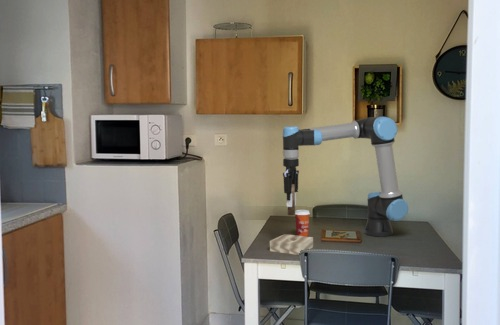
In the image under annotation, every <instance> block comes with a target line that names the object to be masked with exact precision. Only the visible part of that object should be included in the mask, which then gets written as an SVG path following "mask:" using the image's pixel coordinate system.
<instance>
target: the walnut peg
mask: <svg viewBox="0 0 500 325" xmlns="http://www.w3.org/2000/svg"><path fill="white" fill-rule="evenodd" d="M291 193H292V207H287V215H288V216H295V211H296V209H295V208H296V206H295V184H292V190H291Z"/></svg>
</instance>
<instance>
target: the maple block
mask: <svg viewBox="0 0 500 325" xmlns="http://www.w3.org/2000/svg"><path fill="white" fill-rule="evenodd" d="M313 248H314V237H313V236H308V237H306V236H297V234H296V235H295V234H287V233H284V234H282V235H280V236H277V237H275V238H273V239H271V240H269V251H270V252H273V253H282V254H288V255H296V256H297V255H298V256H300V255H299V253H300V251H301V250H305V249H309V250H311V249H313Z"/></svg>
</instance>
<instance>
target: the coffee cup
mask: <svg viewBox="0 0 500 325" xmlns="http://www.w3.org/2000/svg"><path fill="white" fill-rule="evenodd" d="M310 215H311V213H310V210H309V209H297V210H296V209H295V215H294V217H295V230H296V235H297V236H306V237H309V235H310V234H309V233H310V232H309V229H310Z"/></svg>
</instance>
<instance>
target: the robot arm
mask: <svg viewBox="0 0 500 325" xmlns="http://www.w3.org/2000/svg"><path fill="white" fill-rule="evenodd" d="M397 133H398V126H397V123H396V122H395V120H394V119H392V118H390V117H387V116H370V117H365V118H362V119H356V120H355V119H354V120H352V121H351V122H347V123H341V124H340V123H339V124H334V125H332V124H331V125H325V126H317V127H310V128H303V129H301V128H300V129H299V127H298V126H284V127H283V129H282V154H283V155H282V157H283V159H282V166H283V167H285V172H283V173H282V176H283V193H284V194H286V207H287V208H288V207H292V193H291V190H292V184H295V207H296V206H297V193H298V192H299V174H300V173H299V172H300V170H297V167H299V164H300V162H299V161H300V160H299V156H300V153H299V152H300V150H299V147H301V146H303V147H304V146H309V147H310V146H321V145H322V143H323V142H326V141H333V140H341V139H347V138H353V139H369V140H370V144H371V146H372V147H374V150H375V156H376V163H377V170H378V176H379V183H380V188H381V189H380V190H381V191H379V192H378V191H376V192H375V191H373V192H370V193H368V194H367V221H366V223H365V226H364V231H363V232H364V234H365V235H367V236H371V237H390V236H393V234H394V232H393V231H394V230H393V227H392V226H393V225H392V224H391V221H393V222H394V221H395V222H397V221H401V220H403V219H404V218H405V217H406V216H407V214H408V212H409V204H408V202H407V201H406V200H405V199H404V197H403V192H402V191H400V190H399V184H398V177H397V171H396V170H397V169H396V162H395V158H394V157H395V156H394V149H393V144H394V143H395V137H396V135H397Z"/></svg>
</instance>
